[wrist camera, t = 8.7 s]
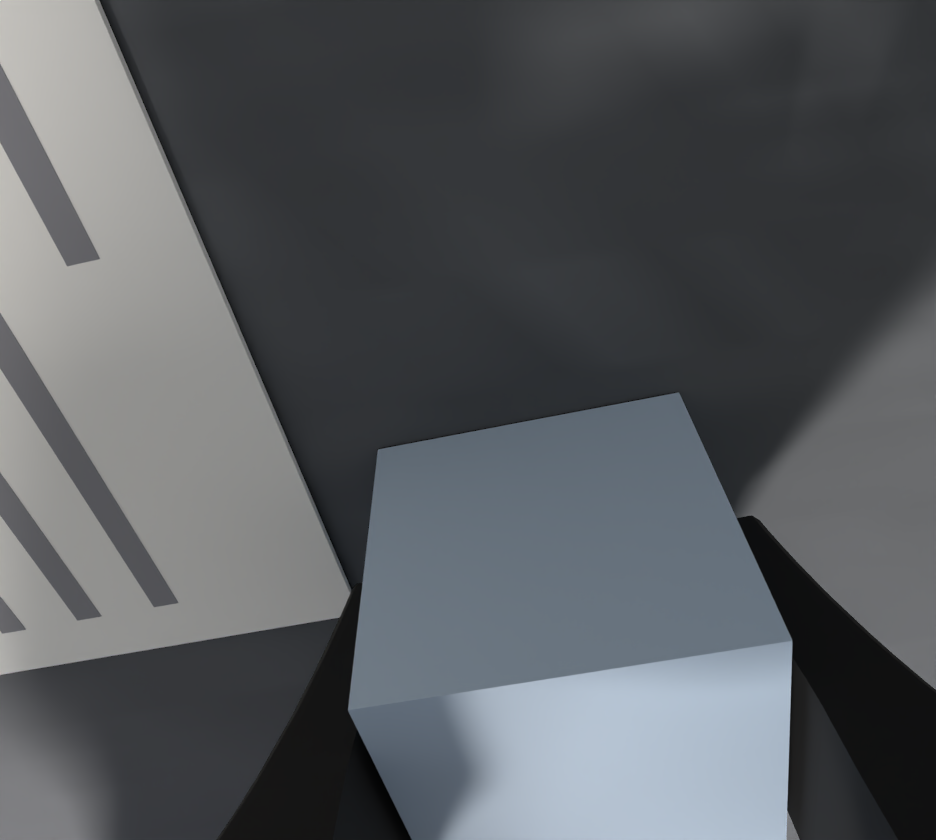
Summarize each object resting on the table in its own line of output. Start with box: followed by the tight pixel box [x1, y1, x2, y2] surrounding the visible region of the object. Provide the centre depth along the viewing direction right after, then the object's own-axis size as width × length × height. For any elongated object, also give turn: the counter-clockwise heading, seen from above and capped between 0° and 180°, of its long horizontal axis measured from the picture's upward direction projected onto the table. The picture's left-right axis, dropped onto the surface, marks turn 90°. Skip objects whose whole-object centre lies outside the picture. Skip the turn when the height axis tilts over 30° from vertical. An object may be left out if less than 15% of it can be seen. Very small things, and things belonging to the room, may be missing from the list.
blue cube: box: [348, 393, 792, 840], centre depth 11 cm, size 4×4×4 cm
